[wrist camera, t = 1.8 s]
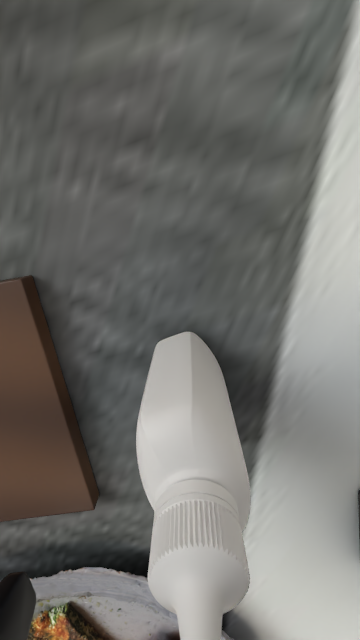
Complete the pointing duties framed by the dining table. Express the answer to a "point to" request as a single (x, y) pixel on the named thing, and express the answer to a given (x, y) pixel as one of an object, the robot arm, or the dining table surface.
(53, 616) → the food plate
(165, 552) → the eye dropper bottle
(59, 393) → the walnut board
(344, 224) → the dining table surface
